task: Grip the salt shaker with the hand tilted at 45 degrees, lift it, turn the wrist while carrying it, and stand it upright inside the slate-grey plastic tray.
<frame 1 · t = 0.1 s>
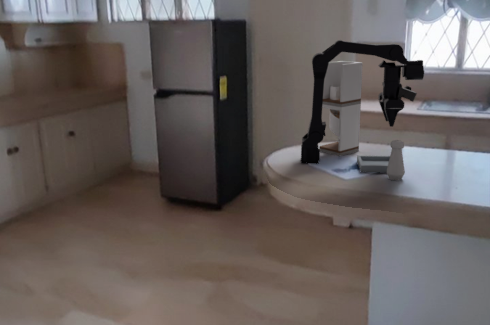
hand: (389, 123, 182), 15 cm above the countertop, tool pointing down, fingers open, 9 cm apart
tray: (377, 167, 181), on the countertop
display case: (338, 151, 204), on the countertop
salt shaker: (395, 179, 168), on the countertop
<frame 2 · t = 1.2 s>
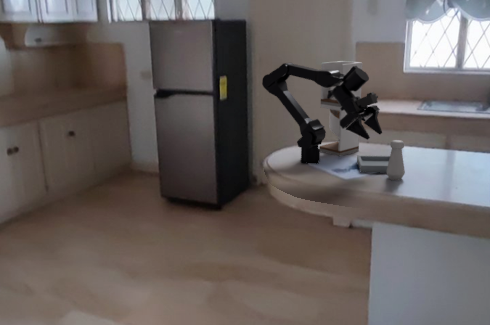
hand: (375, 136, 170), 13 cm above the countertop, tool tilted 45°, fingers open, 9 cm apart
nothing on the countertop moved.
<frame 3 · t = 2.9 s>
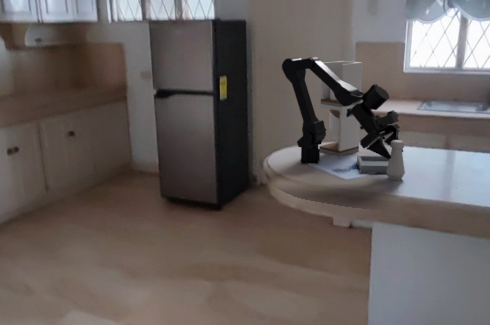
hand: (396, 155, 166), 8 cm above the countertop, tool tilted 45°, fingers open, 9 cm apart
nothing on the countertop moved.
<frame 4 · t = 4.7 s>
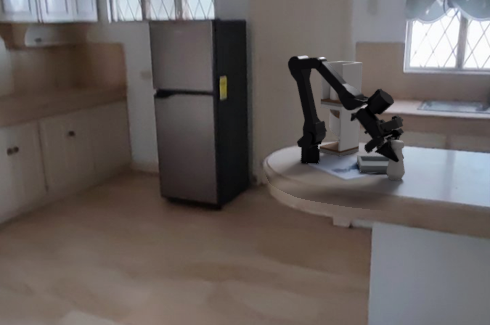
hand: (400, 160, 166), 7 cm above the countertop, tool tilted 45°, fingers closed on salt shaker, 3 cm apart
salt shaker: (395, 179, 168), on the countertop, touching gripper
everything else where it was.
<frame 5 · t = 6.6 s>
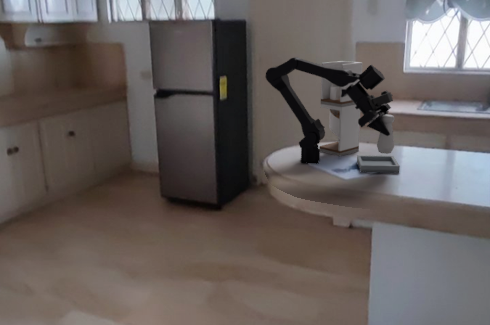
hand: (390, 134, 173), 13 cm above the countertop, tool tilted 45°, fingers closed on salt shaker, 3 cm apart
salt shaker: (385, 152, 175), point 7 cm above the countertop, touching gripper
everything else where it was.
when the fingers open (9 cm above the countertop, at t = 8.8 s): salt shaker drops 1 cm, resting on tray.
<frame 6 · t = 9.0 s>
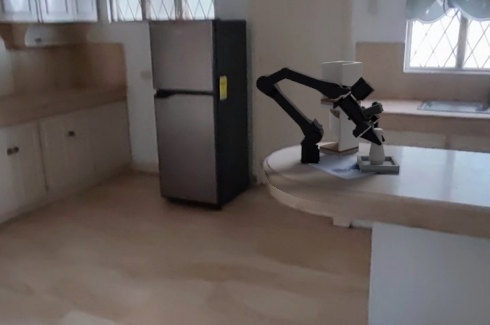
hand: (382, 143, 178), 9 cm above the countertop, tool tilted 45°, fingers open, 5 cm apart
salt shaker: (376, 164, 181), point 1 cm above the countertop, touching tray
everything else where it was.
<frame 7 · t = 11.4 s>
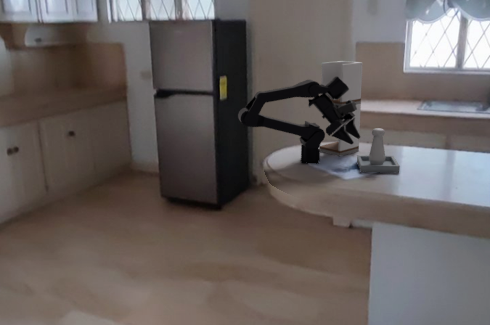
hand: (356, 140, 182), 9 cm above the countertop, tool tilted 45°, fingers open, 9 cm apart
nothing on the countertop moved.
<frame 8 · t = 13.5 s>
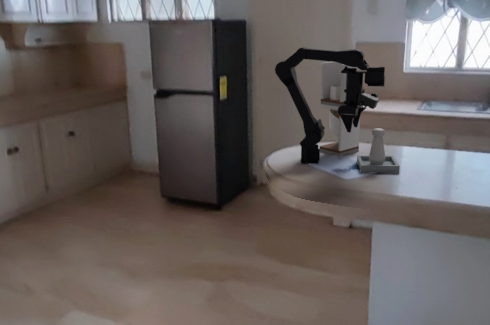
hand: (352, 129, 181), 13 cm above the countertop, tool pointing down, fingers open, 9 cm apart
nothing on the countertop moved.
at the end: salt shaker inside the target area on the tray (0.3 cm from its centre), point 0.8 cm above the tray's base; salt shaker tilted 0°; the gripper is holding nothing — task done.
